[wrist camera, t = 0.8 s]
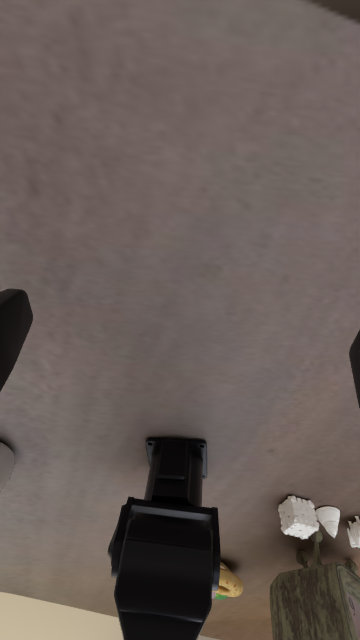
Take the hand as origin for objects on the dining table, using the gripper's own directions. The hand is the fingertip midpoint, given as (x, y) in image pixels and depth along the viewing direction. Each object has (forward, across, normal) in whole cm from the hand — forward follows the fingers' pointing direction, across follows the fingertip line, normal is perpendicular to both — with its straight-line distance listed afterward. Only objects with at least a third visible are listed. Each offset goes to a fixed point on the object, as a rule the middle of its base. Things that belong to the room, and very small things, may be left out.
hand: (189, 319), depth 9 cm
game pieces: (+12, -19, +37) cm, 43 cm away
